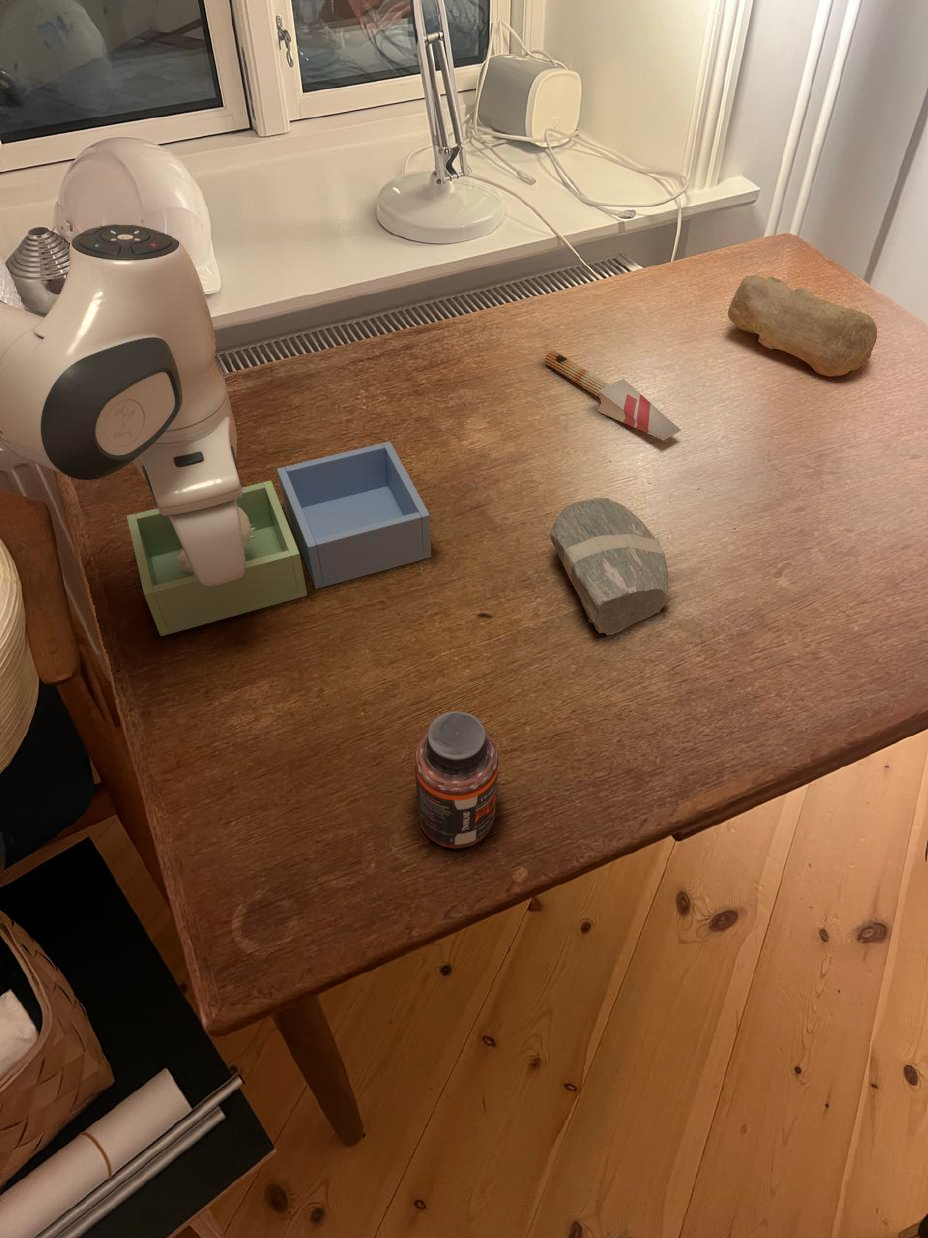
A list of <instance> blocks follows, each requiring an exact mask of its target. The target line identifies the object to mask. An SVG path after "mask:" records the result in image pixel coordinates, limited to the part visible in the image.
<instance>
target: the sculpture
mask: <svg viewBox="0 0 928 1238" xmlns="http://www.w3.org/2000/svg"><path fill="white" fill-rule="evenodd" d="M727 316H728V319H729V321H730V322H731V323H732V324H733V325H735V326H736V327H737V328H738V329H739V330H741V331H742V332H745V333H749V334H757V335H759V336H758V339H757V341H758V343H759V344H760V345H762V346H764V347H765V348H767V349H769V350H774V349H777V350H779V351H782V352H784V353H785V352H786V353H788V354H790V355H792V356H794V357H796V358H797V359H800V360H802V361H803V362H805V363H807V364H808V365H809V366H810V367H811V369H812V370H813V371H814V372H815V373H817V374H819V375H820V376H825V377H839V376H844V375H847V374H848V373H849V372H851V371H856V370H858V369H859V368H860V367H861V366H863V365H865V364H866V363H868V361H869V360H870V359H871V356H872V353H873V350H874V347H875V345H876V343H877V338H878V328H877V325H876V322H875V321H874V318H872V316H871V315H869V314H867V313H865V312H863V311H859V310H856V309H852V308H848V307H845V306H841V305H838V304H835V303H832V302H830V301H827V300H825V299H821V298H819V297H817V296H815V295H814V293H813V292H812V291H810V290H808V289H806V288H804V287H800V288H795V290H794V289H792V288H791V287H790V286H789V285H788V284H786V282H785V281H784V280H781V279H779V278H778V277H777V278H776V277H773V276H769V277H768V278H764V277H762V276H759V275H747V276H745V277H744V278H743V279H742V281H741V282H740V285H739V286H738V287H737V289H736V291H735V292H734V295H733V297H732V299H731V301H730V304H729V306H728V310H727Z"/></svg>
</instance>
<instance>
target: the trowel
mask: <svg viewBox="0 0 928 1238" xmlns="http://www.w3.org/2000/svg"><path fill="white" fill-rule="evenodd" d="M544 360H545V361H544V363H545V364H546V365H547V366H548V367H550V368H551V369H554V370H555V371H556V372H559V373H560V374H561V375H563V376H565V377H566V378H568V379H569V380H571V381H572V382H574V383H576V384H577V385H579V386H580V387H582V388H583V389H584V390H586V391H588V392H590V393H591V394H593V395H594V396H596V397H598V398H599V400H600V404H599V406H598V408H597V410H596V412H598V413H601V414H603V415H605V416H607V417H610V418H611V419H614V420H617V421H618V422H621V423H623V424H626V425H628V426H630V427H632V428H635V429H637V430H639V431H641V432H644V433H645V434H648V435H650V436H653V437H655V438H656V439H658V440H662V441H664V440H666V439H669V438H670V437H672V436H674V435H676V434H678V433H679V432H681V431H682V430H681V428H680V427H678V426H677V425H676V424H675V423H674V422H673V421H671V420H670V419H669V418H668V417H667V415H665V414H664V413H662V412H661V410H659V409H658V408H657V407H656V406H655V405H654V404H653V403H651V402H650V401H649V400H648V399H647V398H646V397H645V396H644V395H643V394H642V393H640V392H639V391H638V390H637V389H636V388H635V387H634V386H633V385H632V384H631V383H629V382H628V381H627V380H626V379H625V378H621V379H619V380H617V381H615V382H613V383H611V384H609V383H607V382H606V381H604V380H603V379H601V378H599V377H597V376H596V375H594V374H593V373H591V372H590V371H588V370H586V369H585V368H583V367H581V366H580V365H578V364H577V363H576V362H574V361H572V360H571V359H569V358H567V357H565V356H564V355H562V354H561V353H559V352H558V351H556V350H550V351H548V353H547V354H546V356H545V359H544Z"/></svg>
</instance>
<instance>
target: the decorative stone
mask: <svg viewBox="0 0 928 1238" xmlns="http://www.w3.org/2000/svg"><path fill="white" fill-rule="evenodd" d="M549 538H550V540H551V542H552V546H553V547H554V548H555V550H556V554H557V556H558V558H559V560H560V561H561V563H562V565H563V567H564V570H565V572H566V573H567V576H568V578H569V580H570V583H571V584H572V585H573V588H574V590H575V592H576V593H577V595H578V598H579V600H580V603H581V605H582V607H583V609H584V611H585V613H586V618H587V621H588V623H591V624H593V626H594V628H595V630H596V631H597V632H598V633H599V634H605V635H606V636H613V635H615V634H616V633H619V632H622V631H623V630H624V629H626V628H629V627H631V626H633V625H634V624H637V623H639V622H642V621H644V620H646V619H649V618H651V617H652V616H655V614H658V613H660V612H661V610H662V609H663V608H665V607H666V604H667V603H668V600H669V587H668V578H669V569H668V566H667V559H666V554H665V551H664V549H663V547H662V544H661V542H660V539H659V538H658V537H657V538H656V537H655V536H654V535H653V533H652V531H650V529H648V527H647V526H646V524H645V523H644V522H643V521H642V520H641V519H640V518H639V517H638V516H637V515H636V514H635V513H634V512H632V511H631V510H629V509H628V508H627V507H626V506H625V505H623V504H621V503H620V502H617V501H614V500H611V499H610V498H608V497H599V498H591V499H586V500H581V501H577V502H576V501H575V502H573V503H571V504H569V505H567V506H565V507H564V508H563V509H562V510H561V512H560V514H559V515H558V516H557V517H556V518H555V520H554V522H553V524H552V525H551V528H550V533H549Z"/></svg>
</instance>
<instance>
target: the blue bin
mask: <svg viewBox="0 0 928 1238" xmlns="http://www.w3.org/2000/svg"><path fill="white" fill-rule="evenodd" d="M276 472H277V478H278V482H279V487H280V491H281V493H280V494H281V498H282V502H283V508H284V513H285V516H286V517H287V519H288V520H287V521H288V522H289V526H290V529H291V530H292V532H293V533H292V534H293V535H294V537H295V541H296V544H297V545H298V546H297V547H298V548H299V551H300V554H301V556H302V558H303V561H304V563H305V566H306V568H307V571H308V573H309V576H310V579H311V581H312V584H313V587H314V589H315V590H318V589H321V588H325V587H328V586H332V585H336V584H339V583H343V582H347V581H351V580H354V579H358V578H361V577H364V576H365V577H366V576H369V575H373V574H375V573H379V572H383V571H387V570H390V569H393V568H397V567H400V566H404V565H409V564H412V563H416V562H418V561H422V560H426V559H429V558H432V541H431V540H432V539H431V514H430V512H429V511H428V509H427V507H426V505H425V503H424V502H423V499H422V498H421V496H420V494H419V492H418V490H417V489H416V487H415V485H414V482H413V481H412V480H411V477H410V476H409V473H408V472H407V470H406V468H405V466H404V465H403V463H402V460H401V459H400V456H399V455H398V453H397V451H396V450H395V447H394V446H393V444H392V442H391V441H390V440H389V441H386V442H381V443H377V444H373V445H369V446H364V447H360V448H356V449H352V450H348V451H343V452H340V453H336V454H332V455H327V456H324V457H319V458H315V459H311V460H306V461H302V462H298V463H295V464H291V465H286V466H283V467H279V468H276Z"/></svg>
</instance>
